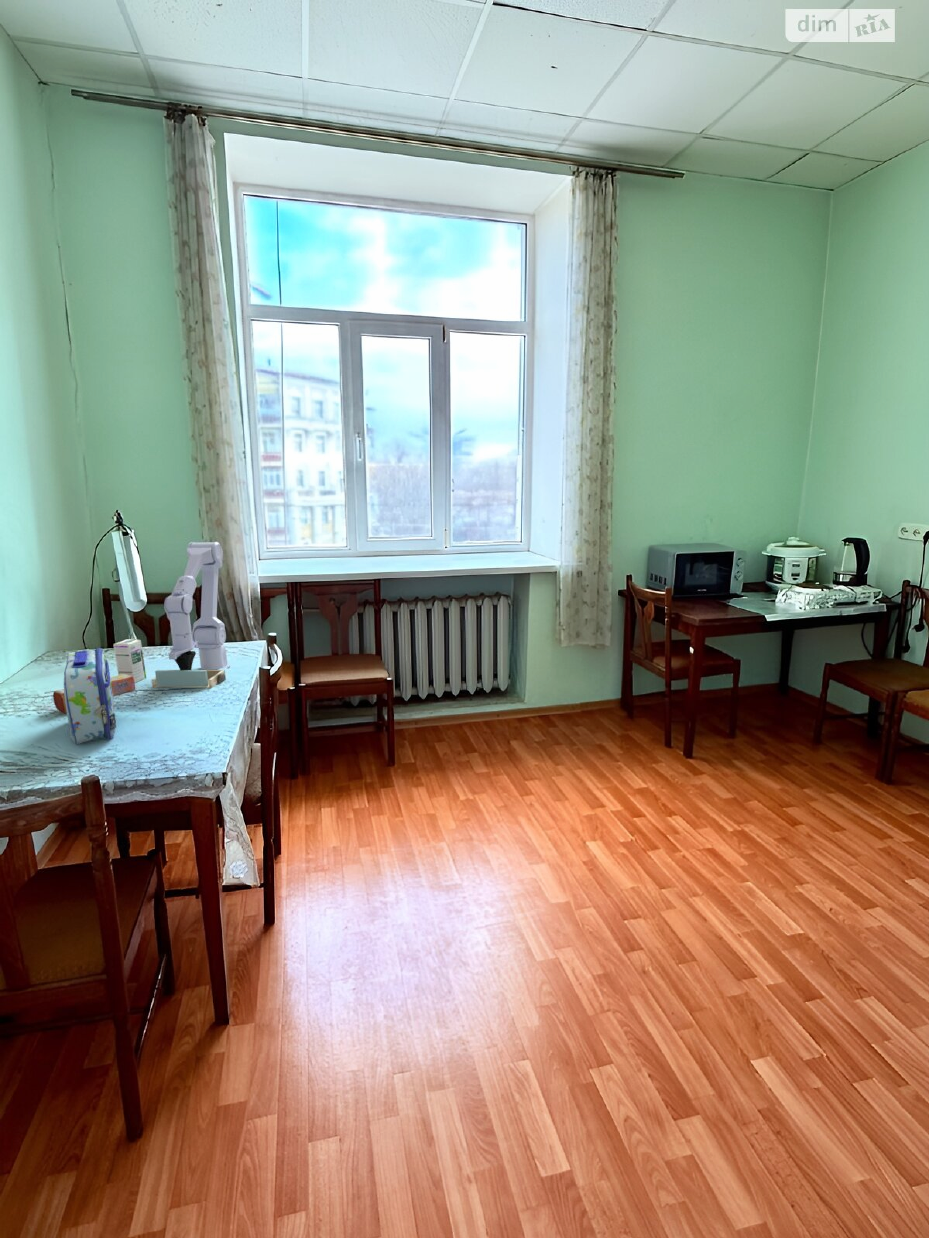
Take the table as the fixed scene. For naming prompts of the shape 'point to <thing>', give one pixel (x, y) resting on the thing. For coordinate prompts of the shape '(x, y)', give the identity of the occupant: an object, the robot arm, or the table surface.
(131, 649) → the syrup box
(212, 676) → the beige tray
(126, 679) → the snack package
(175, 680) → the tailgate
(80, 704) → the lunch box
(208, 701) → the table surface
